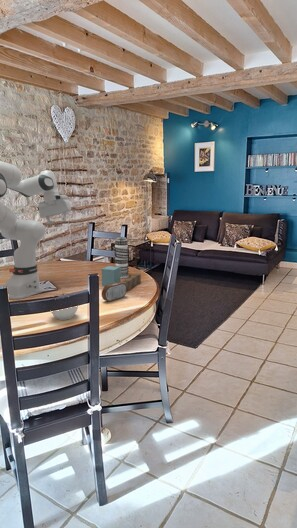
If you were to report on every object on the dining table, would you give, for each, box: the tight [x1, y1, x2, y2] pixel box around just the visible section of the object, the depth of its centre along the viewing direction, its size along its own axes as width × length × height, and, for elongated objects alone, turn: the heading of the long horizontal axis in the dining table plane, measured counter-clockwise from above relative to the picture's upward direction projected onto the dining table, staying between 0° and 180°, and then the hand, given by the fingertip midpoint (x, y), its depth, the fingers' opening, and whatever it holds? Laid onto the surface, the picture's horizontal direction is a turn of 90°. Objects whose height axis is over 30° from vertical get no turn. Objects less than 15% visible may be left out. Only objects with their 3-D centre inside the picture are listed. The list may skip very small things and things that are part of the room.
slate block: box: [101, 265, 122, 287], centre depth 206 cm, size 8×8×10 cm
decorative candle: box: [113, 236, 130, 279], centre depth 223 cm, size 9×9×25 cm
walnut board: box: [121, 273, 142, 293], centre depth 202 cm, size 22×3×5 cm, turn 159°
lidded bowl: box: [50, 292, 79, 321], centre depth 156 cm, size 13×13×11 cm
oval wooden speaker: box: [101, 281, 128, 302], centre depth 180 cm, size 15×3×8 cm, turn 136°
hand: (57, 222), depth 207 cm, fingers open, 8 cm apart
